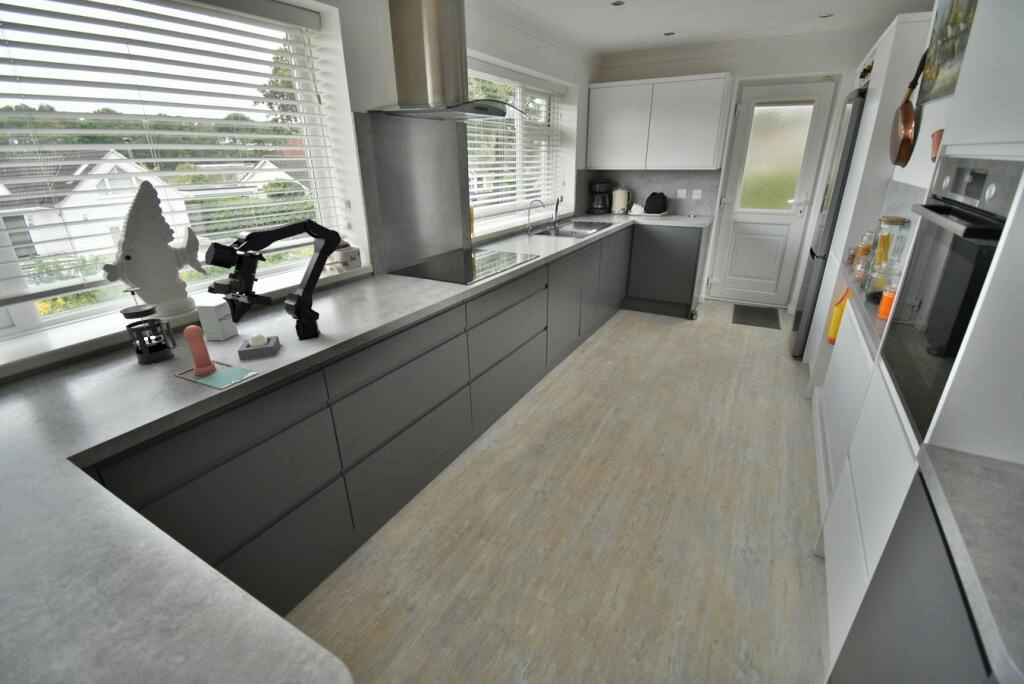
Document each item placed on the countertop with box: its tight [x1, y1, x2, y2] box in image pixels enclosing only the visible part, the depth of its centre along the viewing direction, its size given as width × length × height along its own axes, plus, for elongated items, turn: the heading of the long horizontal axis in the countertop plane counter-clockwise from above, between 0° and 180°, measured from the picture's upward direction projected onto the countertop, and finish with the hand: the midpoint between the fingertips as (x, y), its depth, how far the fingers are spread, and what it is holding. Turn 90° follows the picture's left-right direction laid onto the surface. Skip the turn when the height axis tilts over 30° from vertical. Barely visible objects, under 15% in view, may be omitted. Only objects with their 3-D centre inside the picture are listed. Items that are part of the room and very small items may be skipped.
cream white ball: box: [249, 333, 268, 347], centre depth 146 cm, size 5×5×5 cm
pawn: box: [183, 324, 217, 376], centre depth 132 cm, size 5×5×14 cm
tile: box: [196, 365, 256, 388], centre depth 130 cm, size 11×11×1 cm
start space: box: [174, 359, 234, 383], centre depth 135 cm, size 11×11×1 cm
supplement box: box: [195, 299, 239, 342], centre depth 160 cm, size 7×7×13 cm
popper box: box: [237, 335, 281, 360], centre depth 147 cm, size 10×10×3 cm
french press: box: [119, 287, 178, 365], centre depth 141 cm, size 12×9×23 cm
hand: (235, 322), depth 139 cm, fingers closed
